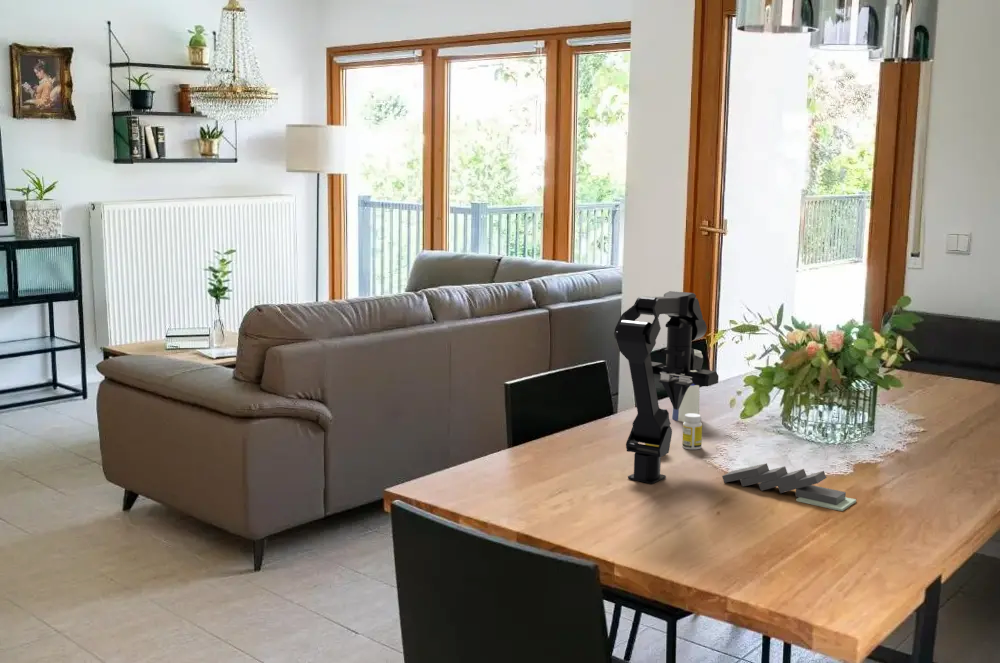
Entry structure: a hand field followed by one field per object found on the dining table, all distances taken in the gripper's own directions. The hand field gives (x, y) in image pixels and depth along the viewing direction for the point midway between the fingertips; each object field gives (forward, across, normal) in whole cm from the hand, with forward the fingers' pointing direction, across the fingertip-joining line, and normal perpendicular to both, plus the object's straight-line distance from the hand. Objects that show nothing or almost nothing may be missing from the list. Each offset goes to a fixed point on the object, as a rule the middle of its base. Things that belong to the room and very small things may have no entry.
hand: (676, 409), depth 248 cm
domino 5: (+12, -34, +4) cm, 36 cm away
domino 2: (+12, -21, +4) cm, 25 cm away
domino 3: (+12, -25, +4) cm, 28 cm away
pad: (+13, -40, +4) cm, 42 cm away
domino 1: (+12, -16, +4) cm, 21 cm away
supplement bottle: (+13, +3, -14) cm, 19 cm away
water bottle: (+13, +19, -39) cm, 45 cm away
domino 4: (+12, -30, +4) cm, 32 cm away
